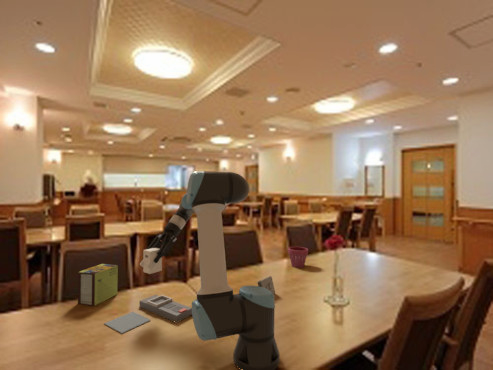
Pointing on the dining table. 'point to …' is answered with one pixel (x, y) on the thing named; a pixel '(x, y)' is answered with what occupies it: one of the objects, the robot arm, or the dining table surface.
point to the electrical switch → (267, 284)
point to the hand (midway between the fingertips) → (145, 267)
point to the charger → (147, 257)
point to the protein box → (97, 284)
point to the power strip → (166, 307)
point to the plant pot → (298, 256)
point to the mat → (127, 322)
